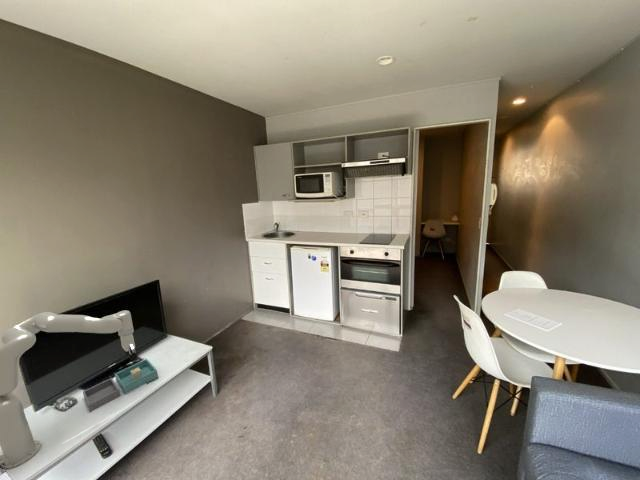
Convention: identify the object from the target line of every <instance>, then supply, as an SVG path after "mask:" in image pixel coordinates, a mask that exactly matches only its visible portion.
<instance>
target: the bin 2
mask: <svg viewBox="0 0 640 480" xmlns="http://www.w3.org/2000/svg"><path fill="white" fill-rule="evenodd" d="M135 368H139V369H140V370H141V374H142V377H140V378H138V379H136V380H134V381H133V380H132V376H131V372H130V371H131V370H133V369H135ZM114 377H115V381H116V382H117V384H118V386H119V387H120V388H121V390H122V392H123V393H124V394H125V395H126V394H128V393H131V392H132V391H134V390H136V389H137V388H140V387H141V386H144V385H145V384H146V385H148V384H150V383H152V382H153V381H156V380H157V379H159V373H158V370H157V368H156V367H155V366H154V365H153V363H151V362H150V360H149V359H147V358H144V359H143V360H141V361H139V362H136V363H134V364H132V365H131V366H128V367H126V368H123V369H122V370H120V371H118V372H116V373H114Z"/></svg>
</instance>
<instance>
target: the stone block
mask: <svg viewBox="0 0 640 480" xmlns="http://www.w3.org/2000/svg"><path fill="white" fill-rule="evenodd" d="M130 372H131V376H132V380H133V381H134V380H136V379H138V378H140V377H142V374H141V370H140V369H139V368H135V369H133V370H131V371H130Z"/></svg>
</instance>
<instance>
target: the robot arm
mask: <svg viewBox="0 0 640 480" xmlns="http://www.w3.org/2000/svg"><path fill="white" fill-rule="evenodd" d="M41 331H42V332H46V333H76V332H77V333H90V334H92V333H93V334H113V333H116V332H117V333H118V334H117V335H118V336H119V337H120V343H121V347H122V349H123V350H124V354H125V355H128V354H129V360H130V361H133V360H136V359H137V352H136V344H135V339H134V335H133V333H134V332H135V331H134V326H133V320H132V314H131V312H130V311H129V310H125V309H124V310H121V311H118V312H117V313H113V314H110V315H106V316H103V317H101V318H98V317H93V316H89V315H84V314H63V313H61V314H60V313H59V314H57V313H54V312H52V311H43V312H41V313H38V314H35V315H33V316H31V317H29V318H27V319H25V320H24V321H22V322H20V323H19V324H16V325H14V326H12V327H11V328H9V329H7V330H6V331H5V332H4V333H3V335H2V336H1V342H2V344H3V345H2V346H1V347H0V448H1V451H2V455H0V465H1V467H2V468H3V467H5V468H4V469H6V468H8V469H12V468H15V467H18V466H20V465H22V464H24V463H26V462H27V461H29V460H30V459H31V458H33V457H34V456H35V455H36V454H37V453H38V452H39V451H40V449H41V447H42V443H41V441H40V440H37V439H34V436H33V433H32V430H31V427H30V425H29V422H28V420H27V417H26V413H25V411H24V409H25V408H24V405H23V404H24V403H23V402H22V400H21V399H20V397H18V395H17V394H15V393H13V392H14V391H15V390H16V389H17V387H18V385H19V381H20V375H19V373H20V371H19V364H20V359H21V356H22V355H23V354H24V353H25V352H26V351H28V350H29V349H30V348H32V347H33V346H34V345H35V343H36V341H37V337H36V334H38V333H39V332H41Z"/></svg>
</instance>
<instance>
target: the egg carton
mask: <svg viewBox="0 0 640 480" xmlns="http://www.w3.org/2000/svg"><path fill="white" fill-rule="evenodd" d="M64 401H67V402H65V403H64ZM63 403H64V406H65V408H64V406H62V407H60V405H62V404H63ZM77 403H78V398H76V397H74V396H71V395H66V396H65V397H63V399H60V401H59V402H58V401H56V402H53V403H52V404H53V405H54V409H58V410H62V411H63V412H65V411H68V410H70V408H71V407H72V406H76V405H77Z"/></svg>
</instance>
